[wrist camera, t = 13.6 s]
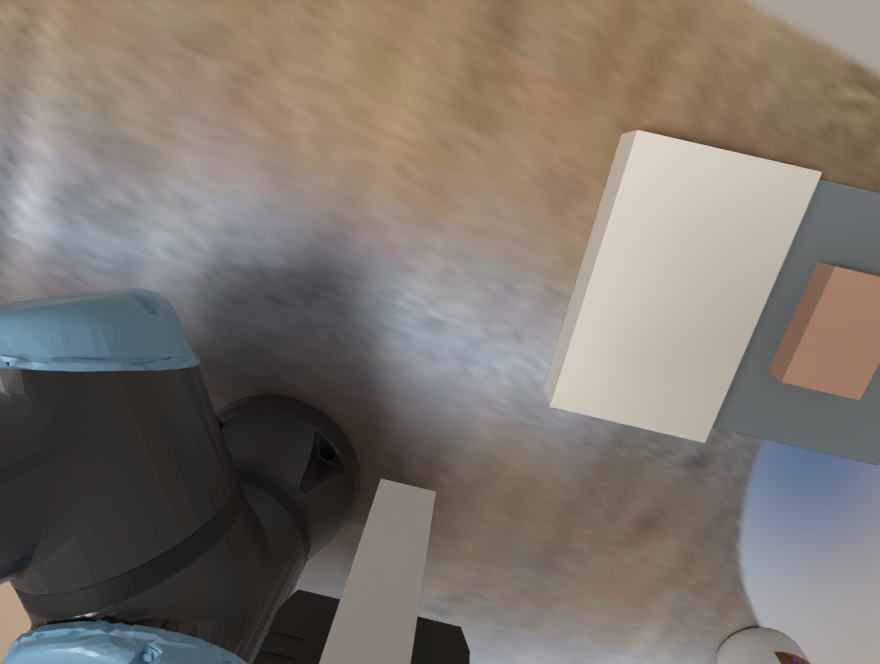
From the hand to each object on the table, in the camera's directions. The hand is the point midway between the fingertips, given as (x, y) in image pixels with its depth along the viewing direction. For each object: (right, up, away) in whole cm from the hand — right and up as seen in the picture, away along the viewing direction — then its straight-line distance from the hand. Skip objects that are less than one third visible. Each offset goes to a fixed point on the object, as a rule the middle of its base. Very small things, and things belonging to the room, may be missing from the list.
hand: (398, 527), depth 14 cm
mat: (+31, +6, +25) cm, 41 cm away
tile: (+31, +5, +23) cm, 39 cm away
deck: (+18, +9, +26) cm, 32 cm away
